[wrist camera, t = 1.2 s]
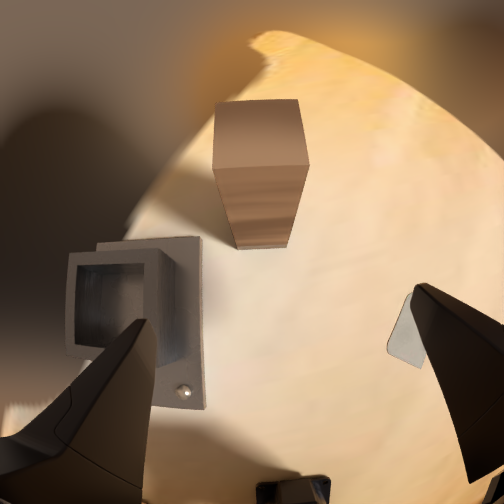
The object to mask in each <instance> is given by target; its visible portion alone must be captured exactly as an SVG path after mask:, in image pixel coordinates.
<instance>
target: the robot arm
mask: <svg viewBox="0 0 504 504" xmlns="http://www.w3.org/2000/svg"><path fill="white" fill-rule="evenodd" d="M410 310H411V312H412V315H413V318H414V321H415V323H416V326H417V329H418V332H419V335H420V338H421V341H422V344H423V346H424V348H425V351H426V353H427V355H428V358H429V360H430V362H431V365H432V367H433V370H434V372H435V375H436V377H437V380H438V382H439V385H440V387H441V390H442V393H443V395H444V398H445V401H446V404H447V407H448V409H449V412H450V415H451V418H452V421H453V425H454V428H455V431H456V434H457V438H458V442H459V445H460V449H461V452H462V456H463V460H464V464H465V469H466V473H467V478H468V482H469V484H471V483H473V482H475V481H476V480H478V479H480V478H482V477H484V476H486V475H487V474H489V473H491V472H492V471H494V470H496V469H497V468H499V467H501V466H502V465H504V325H503V324H500V323H499V322H497V321H496V320H494V319H492V318H490V317H489V316H487V315H485V314H483V313H482V312H480V311H478V310H476V309H474V308H473V307H471V306H469V305H467V304H465V303H463V302H462V301H460V300H458V299H456V298H454V297H452V296H451V295H449V294H447V293H445V292H443V291H441V290H439V289H437V288H435V287H433V286H431V285H430V284H428V283H420V284H417V285H416V286H415V287H414V290H413V294H412V297H411V300H410ZM156 353H157V337H156V334H155V332H154V329H153V327H152V325H151V323H150V321H149V320H148V319H147V318H139V319H136V320H134V321H133V322H132V323H131V324H130V325H129V326H128V327H127V328H126V329H125V330H124V331H123V332H122V333H121V334H120V335H119V336H118V337H117V338H116V339H115V340H114V341H113V342H112V343H111V344H110V345H109V346H108V347H107V348H106V349H105V350H104V351H103V352H102V353H101V354H100V355H99V356H98V357H97V358H96V359H95V360H94V361H93V362H92V363H91V364H90V365H89V366H88V367H87V368H86V369H85V370H84V371H83V372H82V373H81V374H80V375H79V376H78V377H77V378H76V379H75V380H74V381H73V382H72V383H71V384H70V386H68V387H67V388H66V389H65V390H64V391H63V392H62V393H61V394H60V395H59V396H58V397H57V398H56V399H55V400H54V401H53V402H52V403H51V404H50V405H49V406H48V407H47V408H46V409H45V410H44V411H42V412H41V413H40V414H39V415H38V416H37V417H36V418H34V419H33V420H32V421H31V422H30V423H29V424H28V425H27V426H25V427H24V428H23V429H22V430H21V431H19V432H18V433H16V434H14V435H11V436H8V437H0V504H142V487H143V473H144V462H145V452H146V443H147V434H148V426H149V418H150V411H151V404H152V397H153V391H154V384H155V370H156ZM324 481H327V482H325V483H323V482H324ZM259 487H264V488H259ZM330 488H331V480H330V478H329V477H319V478H312V479H308V478H307V479H298V480H286V481H280V482H261V483H258V484H257V485H256V500H257V504H329V498H330ZM482 504H504V470H502V471H501V472H500V473H498V474H497V475H496V476H495V477H493V478H492V480H491V482H490V485H489V488H488V490H487V493H486V495H485V498H484V500H483V502H482Z"/></svg>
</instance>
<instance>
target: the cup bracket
mask: <svg viewBox="0 0 504 504" xmlns="http://www.w3.org/2000/svg"><path fill="white" fill-rule="evenodd" d="M65 304H66V305H65V346H66V356H71V357H75V358H81V359H87V360H93V361H94V360H95V359H96V358H97V357H98V356H99V355H100V354H101V353H102V352H103V351H104V350H105V349H106V348H107V347H108V346H109V345H110V344H111V343H112V342H113V341H114V340H115V339H116V338H117V337H118V336H119V335H120V334H121V333H122V332H123V331H124V330H125V329H126V328H127V327H128V326H129V325H130V324H131V323H132V322H133V321H134V320H136V319H139V318H147V319H148V320H149V321H150V323H151V325H152V327H153V329H154V332H155V334H156V337H157V353H156V370H155V384H154V391H153V397H152V404H151V406H160V407H169V408H180V409H194V410H204V409H205V408H206V393H205V375H204V352H203V318H202V239H201V237H200V236H198V237H181V238H164V239H148V240H133V241H119V242H105V243H97V248H96V251H95V252H77V253H69V261H68V272H67V285H66V303H65Z"/></svg>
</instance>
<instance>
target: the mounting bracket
mask: <svg viewBox="0 0 504 504" xmlns="http://www.w3.org/2000/svg"><path fill="white" fill-rule="evenodd" d="M412 294H413V293H410V294H409V295H408V296H407V298H406V300H405V303H404V305H403V308H402V311H401V313H400V316H399V318H398V320H397V323H396V325H395V328H394V330H393V332H392V335H391V337H390V339H389V341H388V345H387V351H388V353H389V354H390V355H392V356H394V357H397V358H399V359H401V360H403V361H405V362H407V363H409V364H411V365H413V366H415V367H417V368H420V369H421V368H422V365H423V362H424V359H425V356H426V351H425V348H424V346H423V344H422V341H421V338H420V335H419V332H418V329H417V326H416V323H415V321H414V318H413V315H412V312H411V310H410V300H411V297H412Z"/></svg>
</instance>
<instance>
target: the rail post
mask: <svg viewBox="0 0 504 504" xmlns="http://www.w3.org/2000/svg"><path fill="white" fill-rule="evenodd" d="M309 166H310V164H309V158H308V152H307V146H306V140H305V135H304V129H303V124H302V119H301V113H300V108H299V104H298V99H274V100H247V101H231V102H220V103H216V105H215V121H214V140H213V164H212V170H213V173H214V176H215V180H216V183H217V186H218V189H219V192H220V195H221V199H222V202H223V205H224V208H225V211H226V214H227V218H228V221H229V224H230V227H231V230H232V233H233V236H234V240H235V243H236V246H237V249H238V250H248V249H271V248H286V247H287V244H288V240H289V237H290V234H291V230H292V227H293V223H294V220H295V216H296V213H297V209H298V206H299V202H300V199H301V195H302V192H303V188H304V184H305V181H306V177H307V173H308V170H309Z"/></svg>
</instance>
